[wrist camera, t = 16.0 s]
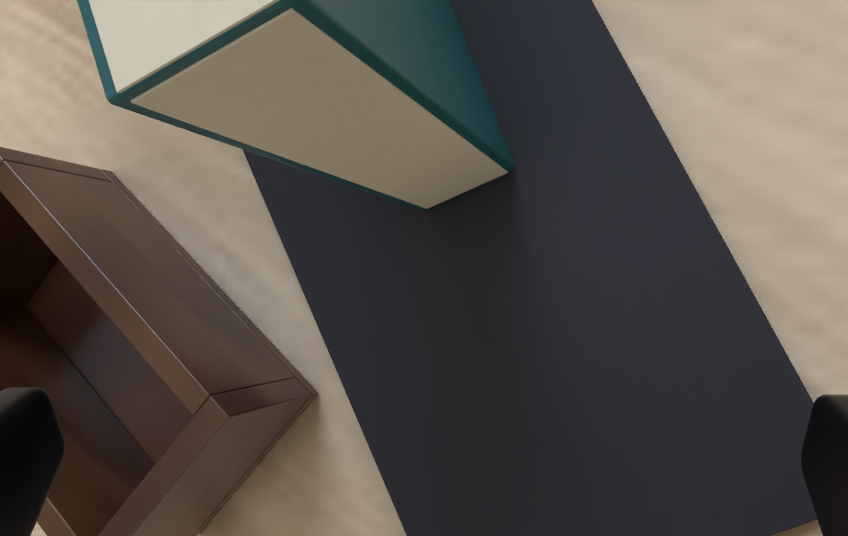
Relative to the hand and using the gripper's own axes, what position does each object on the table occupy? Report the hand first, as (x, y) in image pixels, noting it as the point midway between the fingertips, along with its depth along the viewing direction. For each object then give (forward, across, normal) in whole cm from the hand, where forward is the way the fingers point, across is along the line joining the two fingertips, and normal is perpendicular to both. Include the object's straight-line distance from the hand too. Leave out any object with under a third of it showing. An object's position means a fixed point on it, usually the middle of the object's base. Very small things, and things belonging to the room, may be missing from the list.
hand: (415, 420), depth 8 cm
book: (+16, +1, 0) cm, 16 cm away
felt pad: (+13, -1, +4) cm, 13 cm away
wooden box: (+14, +11, +8) cm, 20 cm away
